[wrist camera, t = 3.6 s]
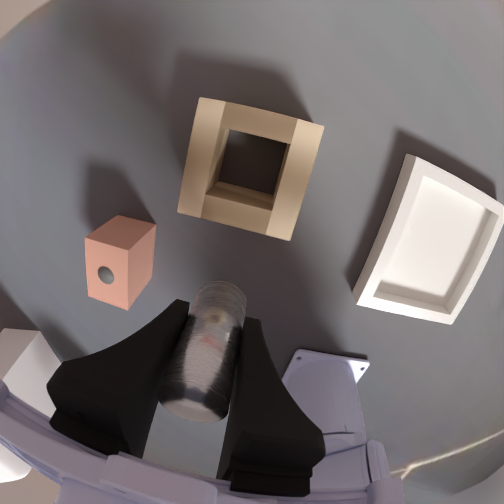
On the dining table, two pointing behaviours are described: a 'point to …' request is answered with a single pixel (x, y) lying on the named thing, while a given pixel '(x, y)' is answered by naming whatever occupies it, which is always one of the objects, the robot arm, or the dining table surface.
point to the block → (119, 260)
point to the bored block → (240, 198)
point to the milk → (25, 384)
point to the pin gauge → (205, 355)
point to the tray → (429, 245)
